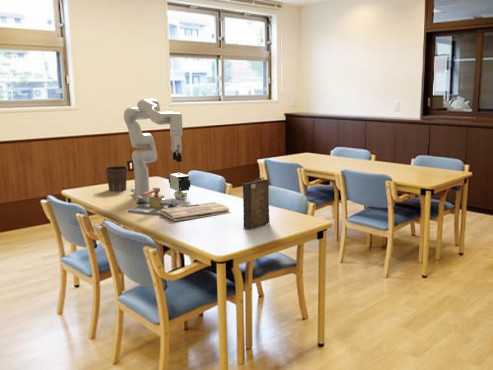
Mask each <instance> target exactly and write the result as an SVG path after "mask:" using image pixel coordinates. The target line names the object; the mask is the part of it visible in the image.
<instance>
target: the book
mask: <svg viewBox="0 0 493 370" xmlns="http://www.w3.org/2000/svg"><path fill="white" fill-rule="evenodd" d="M269 187H270V178H266V179H263V177H258V178H256V179H251V180H249V181H248V180H247V181H244V182H243V183H242V199H243V203H242V206H243V218H242V219H243V229H247V230H254V229H256V228H259V227H262V226H266V225H265V224H267V225H269V224H270V203H269V200H270V199H269V198H270V197H269V196H270V195H269V192H270V190H269ZM268 223H269V224H268Z"/></svg>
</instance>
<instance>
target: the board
mask: <svg viewBox="0 0 493 370" xmlns="http://www.w3.org/2000/svg"><path fill="white" fill-rule="evenodd" d="M182 206H186V203H178V204H177V207H182ZM167 208H168V206H165V205H164V207H162V208H160V209H167ZM160 209H157V208H149V204H147V205H146V206H144V207H138V205H137V206H134V207H132V208H130V209H127V213H134V214H144V215H145V214H146V215H156V216H164V215H163V214H162V213H160Z"/></svg>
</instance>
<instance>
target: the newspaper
mask: <svg viewBox="0 0 493 370" xmlns="http://www.w3.org/2000/svg"><path fill="white" fill-rule="evenodd" d="M160 213H162V214H163V215H162V216H165V217H166V218H168V219H170V220H171V221H174V222H177V221H184V220H192V219H197V218H198V219H199V218H202V217H203V218H205V217H210V216H218V215H223V214H230V213H231V211H230V208H229V207H228V206H226V205H224V204H223V203H220V202H217V201H214V202H207V203H199V204H191V205H185V206H182V207H174V208H167V209H160Z"/></svg>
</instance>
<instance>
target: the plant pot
mask: <svg viewBox="0 0 493 370" xmlns="http://www.w3.org/2000/svg"><path fill="white" fill-rule="evenodd" d="M128 169H129V167H128V166H124V165H121V166H120V165H118V166H117V165H115V166H113V165H112V166H108V167H105V168H104V170H105V174H106V178H107V179H106V180H107V186H108V190H109V191H110V192H120V191H121V192H123V191H126V190H127V181H128V180H127V178H128V175H127V174H128Z"/></svg>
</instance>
